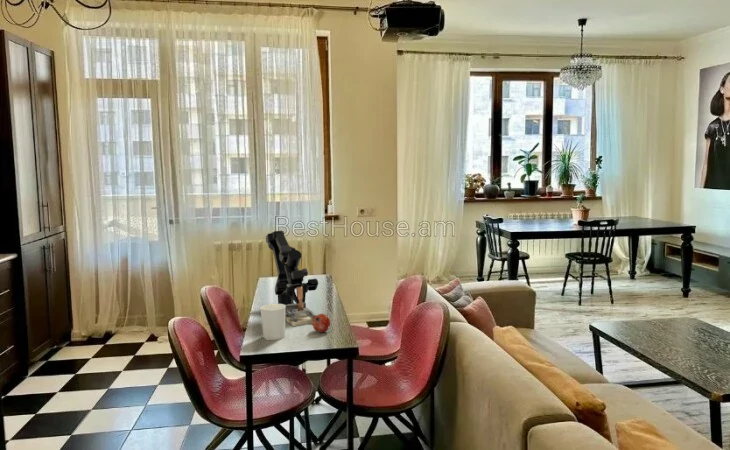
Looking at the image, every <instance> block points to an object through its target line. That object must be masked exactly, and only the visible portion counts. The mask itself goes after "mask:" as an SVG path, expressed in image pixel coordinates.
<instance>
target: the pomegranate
mask: <svg viewBox="0 0 730 450" xmlns="http://www.w3.org/2000/svg"><path fill="white" fill-rule="evenodd" d="M316 315H317V316H316V317H314V319H313V323H311V324H312V328H313V329H314V331H316V332H318V333H326V332H327V331H328V330H329V327H330V326H331V319H330V318H329V317H328V316H327V315H326V314H325V313H318V314H316Z"/></svg>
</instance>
